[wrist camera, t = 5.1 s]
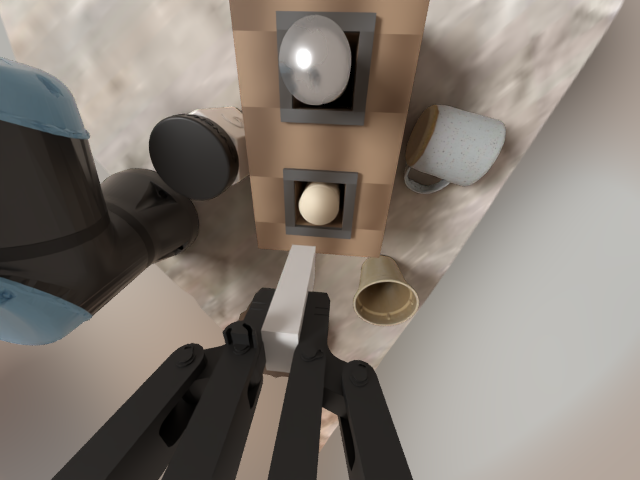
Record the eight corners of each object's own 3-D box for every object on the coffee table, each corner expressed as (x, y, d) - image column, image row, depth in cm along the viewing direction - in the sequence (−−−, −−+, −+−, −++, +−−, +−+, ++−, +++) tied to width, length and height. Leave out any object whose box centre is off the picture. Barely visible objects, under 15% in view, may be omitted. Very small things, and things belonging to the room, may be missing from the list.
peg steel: (306, 101, 24) (280, 103, 14) (306, 50, 22) (277, 14, 12) (346, 103, 24) (347, 106, 14) (350, 51, 21) (354, 15, 12)
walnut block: (281, 208, 38) (256, 251, 27) (271, 15, 26) (220, -42, 16) (369, 214, 37) (379, 261, 27) (400, 17, 26) (439, -41, 15)
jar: (278, 138, 33) (247, 156, 23) (251, 183, 37) (214, 217, 26) (219, 93, 31) (156, 90, 21) (197, 146, 35) (134, 167, 24)
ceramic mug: (421, 99, 29) (442, 101, 23) (484, 117, 30) (522, 125, 23) (388, 181, 35) (397, 202, 28) (441, 196, 35) (462, 219, 29)
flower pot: (383, 296, 46) (390, 334, 38) (341, 274, 44) (341, 310, 37) (417, 263, 41) (433, 299, 34) (373, 237, 39) (379, 269, 32)
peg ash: (311, 189, 34) (299, 223, 25) (312, 160, 32) (298, 186, 23) (339, 191, 34) (337, 226, 25) (341, 162, 32) (340, 188, 23)
